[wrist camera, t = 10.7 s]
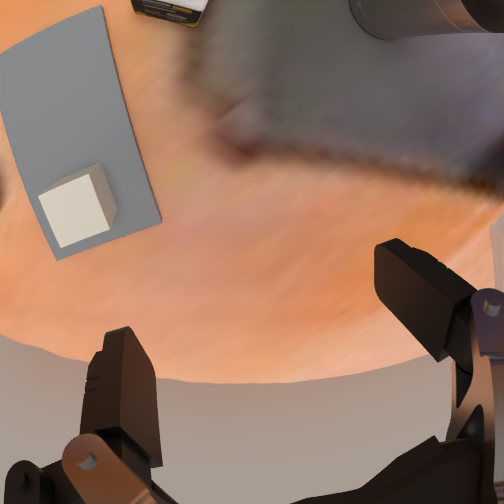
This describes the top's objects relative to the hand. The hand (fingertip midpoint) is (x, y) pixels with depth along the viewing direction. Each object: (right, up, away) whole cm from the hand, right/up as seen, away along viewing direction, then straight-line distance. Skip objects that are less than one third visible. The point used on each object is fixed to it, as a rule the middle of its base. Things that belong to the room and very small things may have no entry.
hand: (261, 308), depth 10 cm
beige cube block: (-18, +8, +21) cm, 29 cm away
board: (-20, +14, +19) cm, 31 cm away
